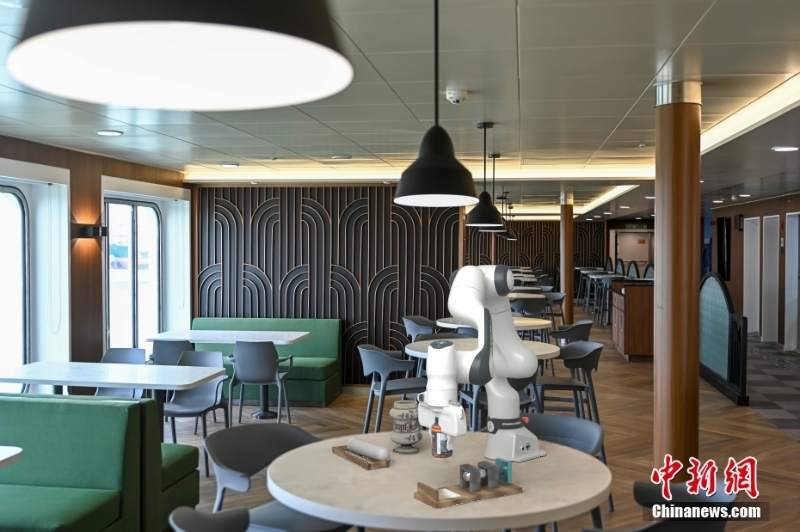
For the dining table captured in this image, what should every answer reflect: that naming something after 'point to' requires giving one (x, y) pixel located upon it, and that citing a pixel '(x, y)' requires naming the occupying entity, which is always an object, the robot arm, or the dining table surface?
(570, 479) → the dining table surface
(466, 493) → the rail
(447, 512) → the dining table surface
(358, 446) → the tube
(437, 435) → the supplement bottle
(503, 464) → the shaft
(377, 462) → the tube cradle
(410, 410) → the apothecary jar
